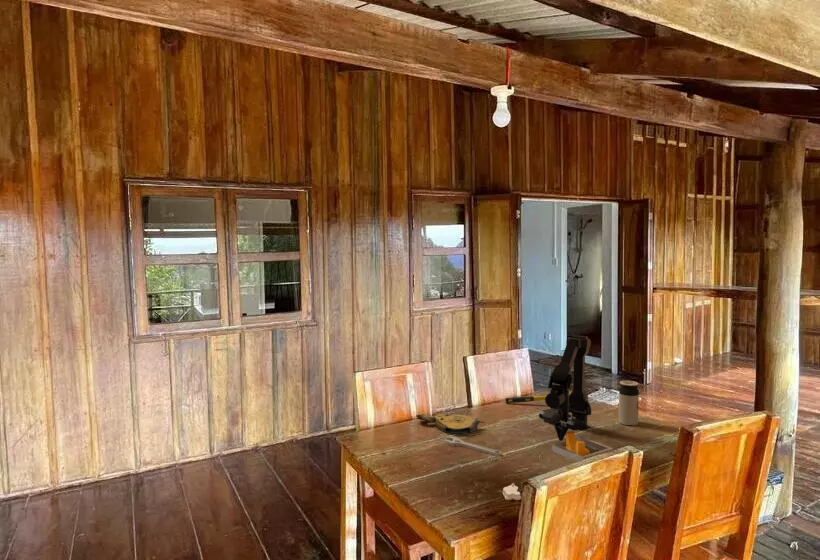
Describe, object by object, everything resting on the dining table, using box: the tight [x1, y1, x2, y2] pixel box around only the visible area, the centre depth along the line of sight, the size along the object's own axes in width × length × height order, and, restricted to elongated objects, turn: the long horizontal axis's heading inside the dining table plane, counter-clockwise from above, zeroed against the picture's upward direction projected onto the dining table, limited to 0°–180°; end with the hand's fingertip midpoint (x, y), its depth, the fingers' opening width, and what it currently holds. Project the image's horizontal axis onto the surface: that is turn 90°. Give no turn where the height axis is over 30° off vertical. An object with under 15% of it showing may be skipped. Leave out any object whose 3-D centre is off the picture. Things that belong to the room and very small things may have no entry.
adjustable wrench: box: [444, 435, 502, 457], centre depth 210 cm, size 25×6×2 cm, turn 47°
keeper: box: [551, 436, 614, 462], centre depth 205 cm, size 16×15×2 cm
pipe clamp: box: [565, 430, 591, 456], centre depth 204 cm, size 12×4×6 cm, turn 4°
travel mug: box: [618, 380, 640, 426], centre depth 238 cm, size 8×8×18 cm
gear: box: [502, 482, 522, 501], centre depth 172 cm, size 9×9×2 cm
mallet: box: [505, 395, 547, 405], centre depth 266 cm, size 29×6×10 cm, turn 80°
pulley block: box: [415, 413, 486, 436], centre depth 235 cm, size 14×6×30 cm
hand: (560, 440), depth 214 cm, fingers closed
